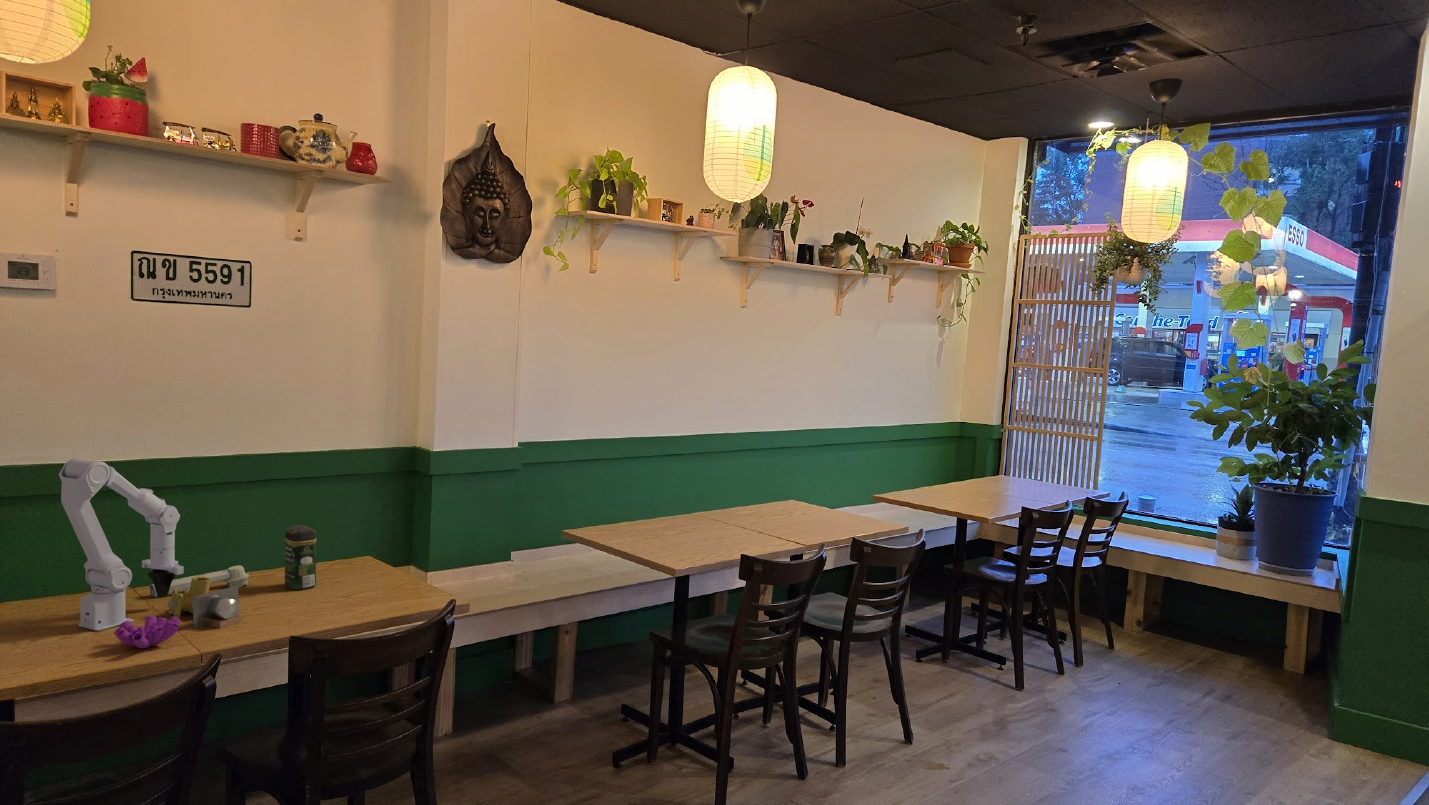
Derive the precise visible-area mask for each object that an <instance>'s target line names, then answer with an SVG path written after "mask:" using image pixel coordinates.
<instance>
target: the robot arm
mask: <svg viewBox="0 0 1429 805" xmlns="http://www.w3.org/2000/svg"><path fill="white" fill-rule="evenodd" d="M58 476H59V478H60V481H61V491H60V502H61V504H62V508H64V511H65V514H66V515H67V517H68V520H69V522H70V524H71V526H72V528H73V532H75V535H76V537H77V539H78V541H79V543H80V545H81V547H82V550H83V553H84V554H85V556H86V558H87V561H86V562H85V563H84V565H83V567H84V569H85V581H86V583H87V584H88V585H90V589H91V592H90V593H88V594H86V595H84V596H81V598H80V602H79V623H78V627H81V628H85V629H89V630H93V631H98V632H99V631H102V630H107V629H111V628H114V627H118V626H119V625H120V624H121V623H123V622H125V621H127V620H128V621H129V622H130V623H133V622H134V619H132V618H129V617H126V591H127V587H129V585H130V584H131V582H132V579H133V572H132V570H131V569H130V568H129V567H127V566H126V565H125V564H124V561H123V560H122V559H121V558H120V557H119V556H117V555H116V554H115V553H113V551H112V548H111V546H110V544H109V541H108V540H107V537H106V535H105V532H104V530H103V528H102V526H101V524H100V522H99V519H98V517H97V515H96V512H95V510H94V508H93V506H92V504H91V500H92V498H93V497H94V496H95V495H96V494H97V493H98V492H99V491H100V489H101V488H103V486H106V487H108V488H110V489H111V490H113V491H114V492H116V493H117V494H120V495H121V497H124V498H126V499H127V504H128V506H129V507H130V508H132V509H133V510H134V511H136V512H137V513H138V514H140V515H142V516H144V519H145V522H146V523H149V524H150V535H149V537H150V542H149V543H150V550H149V551H150V553H149V554H150V558H147V559H143V560H141V568H143V569H145V568H148V569H152V571H148V572H147V576H148V577H149V579H150V580H151V582H152V584H154V587H155V590H156V593H157V596H158V597H157V598H165V597H169V595H168V593H169V589H170V586H171V583H172V581H173V580H175V577H176V576H178V575H183V574H185V573H184V572H185V570H184V566H182V565H180V564H179V561H178V560H175V558H176V557H175V552H176V549H175V548H176V546H175V544H176V542H175V540H176V539H175V538H176V536H175V534H176V532H175V531H176V529H177V524H178V522H179V520H180V518H181V514H180V513H179V511H178V509H177V508H176V506H173V505H168V504H167V503H166V500H165V499H164V498H159V497H158V496H156V495H155V494H154V491H153V490H152V489H150V488H137V487H136V486H134V484H132V483H131V482H130V481H128V480H127V479H126V478H125V477H124V476H122V475H121V474H120V473H119V472H117V471H116V469H115V468H114V467H113V466H110V465H108V464H107V463H106V462H104V461H101V460H100V461H99V460H97V461H94V460H88V459H83V458H82V459H81V458H77V457H76V458H71V459H68V460H67V461H66V462H65V463H64V464H63V466H62V468H61V470H60V471H59V473H58Z"/></svg>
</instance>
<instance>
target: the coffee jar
mask: <svg viewBox="0 0 1429 805" xmlns="http://www.w3.org/2000/svg"><path fill="white" fill-rule="evenodd" d="M317 539H318V538H317V531H316V530H315V529H314V528H311V527H308V526H306V525H304V524H296V525H290V526H288V527H287V528H286V529H285V532H284V545H285V546H284V547H285V548H284V552H285V555H284V556H285V559H284V586H286V587H288V588H289V589H290V590H295V591H296V590H304V591H305V590H308V589H311V588H314V587H316V585H317V569H316V567H317V566H316V565H317V563H316V560H317V559H316V551H317V549H316V548H317V546H316V545H317Z"/></svg>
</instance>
